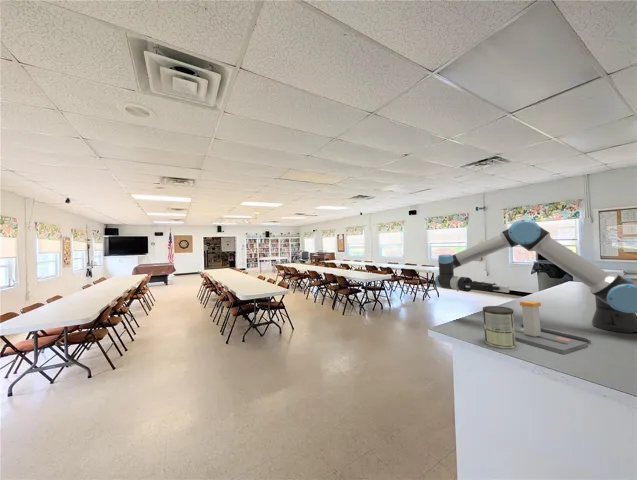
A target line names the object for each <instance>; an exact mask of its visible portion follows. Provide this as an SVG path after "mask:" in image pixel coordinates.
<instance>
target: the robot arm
mask: <svg viewBox="0 0 637 480" xmlns="http://www.w3.org/2000/svg"><path fill="white" fill-rule="evenodd" d="M510 225H511V226H509V228H507V229H505V230H502V231H501V232H500V234H498V235H496V236H494V237H492V238H489V239H486V240H485V241H482V242H480V243H477V244H476V245H473V246H471V247H469V248H467V249H465V250H464V249H463V250H461V251H459V252H457V253H455V254H439V255H438V259H437V263H438V272H439V274H438V275H437V276H435V279H434V282H435V283H434V284H435V285H436V286H437V287H438V288H441V289H445V290H454V291H456V292H459V291H460V292H464V293H465V292H467V293H468V292H471V291H472V290H475V291H477V290H478V291H486V292H488V291H489V292H490V293H493V291H494V292H500V293H507V294H508V293H510V286H509V285H498V284H497V283H495V282H494V283H493V282H492V283H490V282H484V281H476V280H472V278H470V277H468V276H467V277H466V276H457V275H455V273H454V269H456V268H459V267H462V266H463V265H466V264H469V263H471V262H473V261H476V260H479V259H481V258H484V257H486V256H488V255H491V254H494V253H496V252H498V251H500V250H504V249H506V248H514V247H517V246H520V247H522V248H524V249H525V250H526V251H528V252H535V253H537V254H538V255H541V257H543V258H544V259H546V260H548V261H549V262H551V263H552V264H554V265H555V266H557V267H558V268H559V269H561V270H562V271H564V272H566V273H567V274H569V275H570V276H572V277H573V278H575V279H576V280H578V281H579V282H581V283H582V284H584V285H585V286H587V287H588V288H589V292H590V293H591V294H592V295H594V297H595V299H594V301H595V312H594V314H593V317H592V319H591V325H592V326H593V327H594V328H598V329H602V330H606V331H611V332H618V333H628V334H634V333H633V332H637V284H634V283H633V279H632V278H630V277H622V276H620V275H619V274H617V273H610V272H607V271H605V270H604V269H602V268H600V267H598V266H597V265H595V264H594V263H593V262H591V261H589V260H587V259H586V258H584V257H582V256H581V255H579V254H578V253H576V252H574V251H573V250H571V249H570V248H568V247H566V246H565V245H563V244H562V243H560V242H559V241H557V240H556V239H553V238H552V237H551V232H549V231H547V230H546V229H544V228H542V227H541V226H540V225H539V224H538V223H537V222H535V221H533V220H531V219H519V220H516V221H514V222H513V223H512V224H510Z"/></svg>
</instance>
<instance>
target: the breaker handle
mask: <svg viewBox="0 0 637 480" xmlns="http://www.w3.org/2000/svg"><path fill="white" fill-rule="evenodd" d="M541 305H542V303H541V302H540V301H532V300H522V301H521V300H520V301H519V306H521V308H522V309H521V310H522V324H523V326H524V334H526V335H530V336H534V337H536V336H540V335H541V330H540V327H541V320H540V319H541V318H540V307H541Z"/></svg>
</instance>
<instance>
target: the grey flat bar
mask: <svg viewBox="0 0 637 480" xmlns="http://www.w3.org/2000/svg"><path fill="white" fill-rule="evenodd" d="M520 327H523V328H524V326H523V323H522V324H521V326H520ZM540 330H541V332H544V333H549V334H553V335H557V336H561V337H565V338H570V339H574V340H578V341H582V342H587V343H588V344H590V343H591V342H592V339H591V338H589V337H587V336H586V337H585V336H581V335H577V334H576V335H575V334H572V333H566V332H563V331H558V330H555V329H549V328H546V327H541V326H540Z"/></svg>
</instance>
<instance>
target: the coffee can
mask: <svg viewBox="0 0 637 480" xmlns="http://www.w3.org/2000/svg"><path fill="white" fill-rule="evenodd" d="M482 310H483V312H482V313H483V314H482V315H483V325H484V326H483V327H484V328H483V329H484V342H485V344H487V345H488V346H491V347H494V348H499V349H515V348H516V347H517V346H516V345H517V344H516V341H515V330H514V325H515V320H514V319H515V318H514V310H515V309H513V308H510V307H506V306H501V305H500V306H499V305H488V306H483V307H482Z"/></svg>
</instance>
